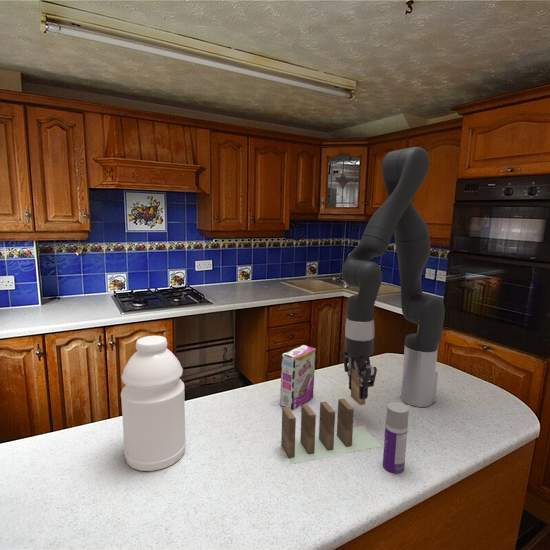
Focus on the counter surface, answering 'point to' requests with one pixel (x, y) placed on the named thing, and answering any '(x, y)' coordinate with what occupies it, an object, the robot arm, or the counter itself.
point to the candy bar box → (297, 376)
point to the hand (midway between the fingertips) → (357, 393)
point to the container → (395, 438)
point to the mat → (359, 442)
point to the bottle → (153, 406)
